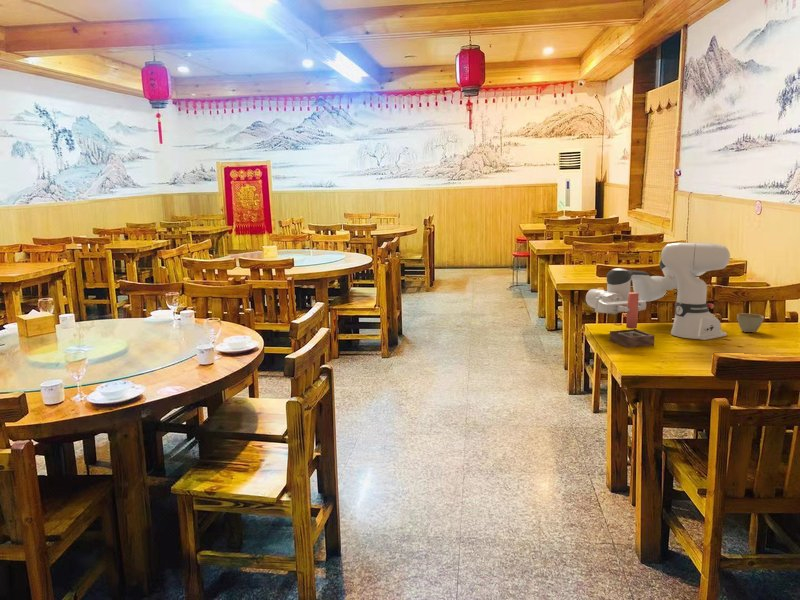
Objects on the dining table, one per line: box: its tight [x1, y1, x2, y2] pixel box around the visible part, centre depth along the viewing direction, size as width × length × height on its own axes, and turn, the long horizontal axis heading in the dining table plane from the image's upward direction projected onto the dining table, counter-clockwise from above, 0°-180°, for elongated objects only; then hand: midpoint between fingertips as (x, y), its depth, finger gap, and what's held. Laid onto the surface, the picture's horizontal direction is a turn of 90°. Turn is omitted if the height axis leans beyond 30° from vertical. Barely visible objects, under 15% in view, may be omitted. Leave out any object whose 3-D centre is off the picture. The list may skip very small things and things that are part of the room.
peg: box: [625, 291, 640, 329], centre depth 252 cm, size 4×4×14 cm
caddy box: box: [609, 328, 655, 349], centre depth 254 cm, size 12×12×4 cm
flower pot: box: [736, 312, 765, 333], centre depth 270 cm, size 10×10×7 cm
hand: (634, 309), depth 251 cm, fingers closed on peg, 4 cm apart
